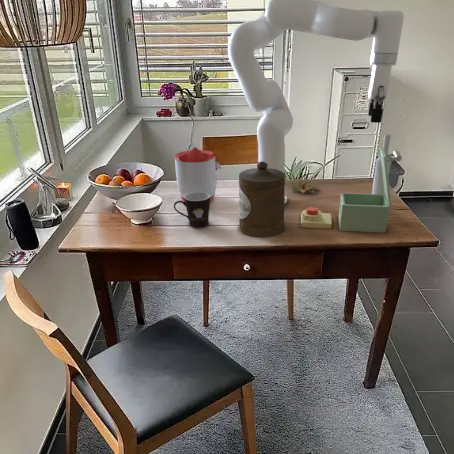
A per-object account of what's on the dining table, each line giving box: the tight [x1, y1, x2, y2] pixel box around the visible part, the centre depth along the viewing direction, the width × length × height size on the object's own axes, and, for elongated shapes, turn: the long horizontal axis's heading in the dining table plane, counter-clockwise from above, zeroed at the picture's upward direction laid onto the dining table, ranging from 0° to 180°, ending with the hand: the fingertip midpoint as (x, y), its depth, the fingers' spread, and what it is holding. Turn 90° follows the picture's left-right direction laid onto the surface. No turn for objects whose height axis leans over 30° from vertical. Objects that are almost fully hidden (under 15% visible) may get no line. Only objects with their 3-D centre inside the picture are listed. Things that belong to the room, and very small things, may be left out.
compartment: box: [337, 192, 391, 234], centre depth 156 cm, size 15×12×9 cm
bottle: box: [371, 133, 392, 194], centre depth 166 cm, size 5×5×25 cm
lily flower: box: [289, 178, 318, 194], centre depth 187 cm, size 12×12×5 cm
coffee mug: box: [173, 192, 211, 229], centre depth 159 cm, size 12×9×10 cm
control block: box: [300, 209, 333, 229], centre depth 160 cm, size 10×9×4 cm
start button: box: [306, 206, 319, 215], centre depth 159 cm, size 4×4×2 cm
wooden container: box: [238, 161, 286, 238], centre depth 152 cm, size 15×15×22 cm
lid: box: [378, 146, 403, 207], centre depth 148 cm, size 16×12×5 cm
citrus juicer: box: [173, 146, 223, 202], centre depth 176 cm, size 16×17×20 cm
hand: (374, 118), depth 151 cm, fingers open, 9 cm apart
